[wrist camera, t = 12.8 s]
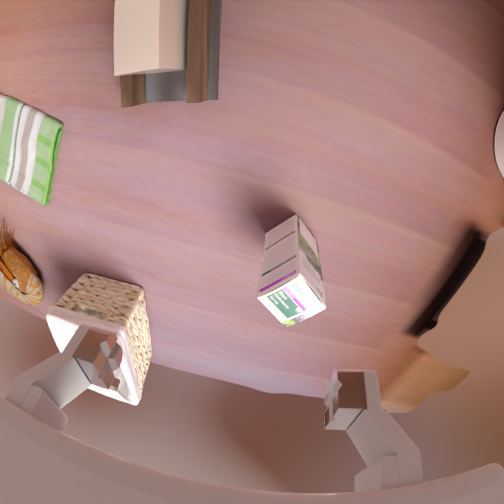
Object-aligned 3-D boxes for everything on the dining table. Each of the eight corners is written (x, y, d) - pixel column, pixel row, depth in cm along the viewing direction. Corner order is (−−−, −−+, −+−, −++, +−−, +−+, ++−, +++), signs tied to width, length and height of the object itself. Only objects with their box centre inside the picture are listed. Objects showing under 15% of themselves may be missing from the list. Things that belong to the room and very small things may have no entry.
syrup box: (264, 232, 44) (252, 299, 32) (297, 211, 41) (299, 275, 29) (286, 259, 46) (283, 330, 34) (319, 240, 43) (328, 309, 31)
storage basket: (80, 263, 52) (39, 313, 40) (151, 281, 52) (117, 342, 40) (101, 339, 65) (76, 384, 53) (159, 357, 65) (139, 408, 53)
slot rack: (227, -69, 19) (218, -84, 15) (217, 99, 34) (207, 102, 30) (142, -55, 20) (125, -65, 16) (133, 103, 35) (114, 108, 30)
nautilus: (-4, 214, 49) (34, 217, 49) (18, 288, 60) (56, 298, 60) (-26, 229, 42) (11, 234, 42) (2, 306, 53) (40, 319, 53)
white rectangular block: (194, -49, 21) (166, -78, 13) (191, 69, 31) (159, 68, 23) (158, -42, 21) (122, -65, 13) (154, 73, 31) (114, 76, 23)
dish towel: (-5, 88, 33) (-18, 92, 30) (67, 119, 37) (53, 124, 34) (-13, 163, 42) (-24, 169, 39) (52, 204, 46) (41, 213, 43)
